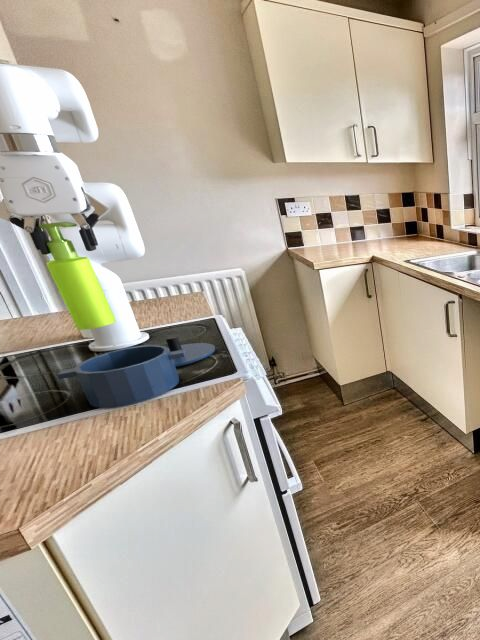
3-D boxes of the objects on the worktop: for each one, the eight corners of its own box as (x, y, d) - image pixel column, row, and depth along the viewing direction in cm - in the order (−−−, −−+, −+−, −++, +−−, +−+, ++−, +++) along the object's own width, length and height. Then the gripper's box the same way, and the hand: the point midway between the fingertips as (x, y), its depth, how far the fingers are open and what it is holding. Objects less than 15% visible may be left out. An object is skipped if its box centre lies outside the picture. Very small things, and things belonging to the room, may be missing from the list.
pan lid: (146, 355, 108) (138, 334, 106) (218, 343, 115) (212, 323, 113) (131, 377, 95) (122, 354, 93) (213, 362, 102) (206, 340, 100)
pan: (85, 388, 91) (71, 356, 88) (197, 367, 100) (188, 338, 97) (59, 419, 79) (42, 383, 76) (189, 392, 88) (177, 359, 85)
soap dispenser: (102, 328, 82) (54, 223, 75) (68, 330, 83) (17, 226, 75) (128, 318, 88) (86, 220, 80) (96, 320, 88) (51, 222, 80)
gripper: (-58, 145, 67) (-4, 259, 73) (86, 146, 74) (123, 249, 81) (-31, 148, 73) (16, 254, 79) (99, 149, 80) (132, 245, 87)
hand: (70, 250), depth 80 cm, fingers closed on soap dispenser, 5 cm apart
